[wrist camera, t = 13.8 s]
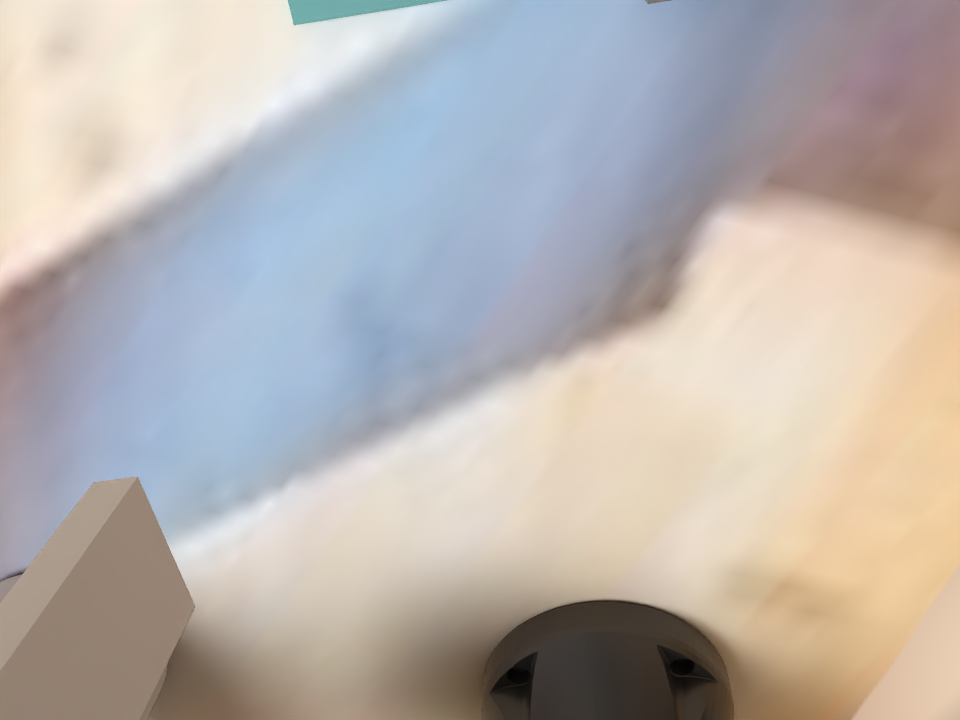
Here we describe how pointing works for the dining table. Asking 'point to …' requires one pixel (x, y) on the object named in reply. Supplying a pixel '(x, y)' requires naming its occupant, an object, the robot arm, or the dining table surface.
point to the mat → (343, 8)
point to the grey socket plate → (654, 1)
